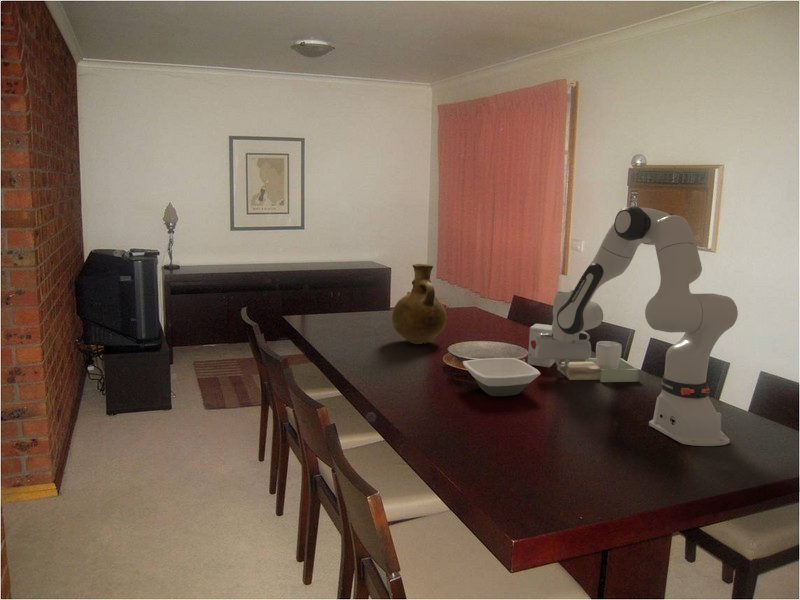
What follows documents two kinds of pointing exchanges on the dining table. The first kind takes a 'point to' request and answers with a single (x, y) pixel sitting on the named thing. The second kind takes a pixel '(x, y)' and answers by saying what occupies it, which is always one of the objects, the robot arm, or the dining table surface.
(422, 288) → the vase
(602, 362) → the cup
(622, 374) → the tray
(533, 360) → the supplement box
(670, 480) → the dining table surface
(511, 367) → the bowl
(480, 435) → the dining table surface
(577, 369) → the board
